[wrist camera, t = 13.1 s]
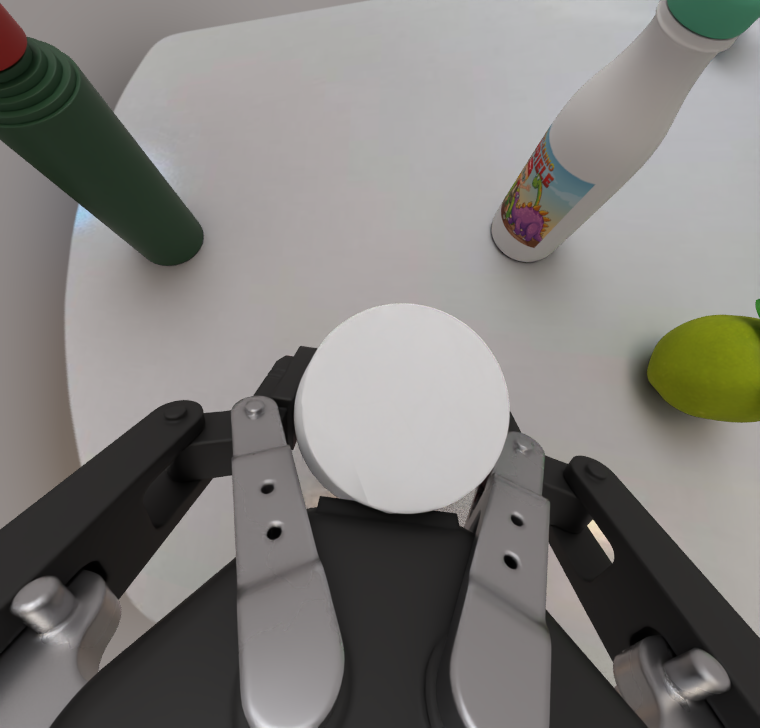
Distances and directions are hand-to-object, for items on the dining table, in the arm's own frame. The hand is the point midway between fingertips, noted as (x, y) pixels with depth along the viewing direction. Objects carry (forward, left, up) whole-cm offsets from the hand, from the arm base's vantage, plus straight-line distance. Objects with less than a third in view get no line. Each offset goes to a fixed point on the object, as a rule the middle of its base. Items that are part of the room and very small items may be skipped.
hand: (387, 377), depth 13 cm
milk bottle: (+26, -2, -16) cm, 31 cm away
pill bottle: (-2, -1, -5) cm, 5 cm away
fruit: (+21, -23, -16) cm, 35 cm away
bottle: (+1, +27, -16) cm, 32 cm away
